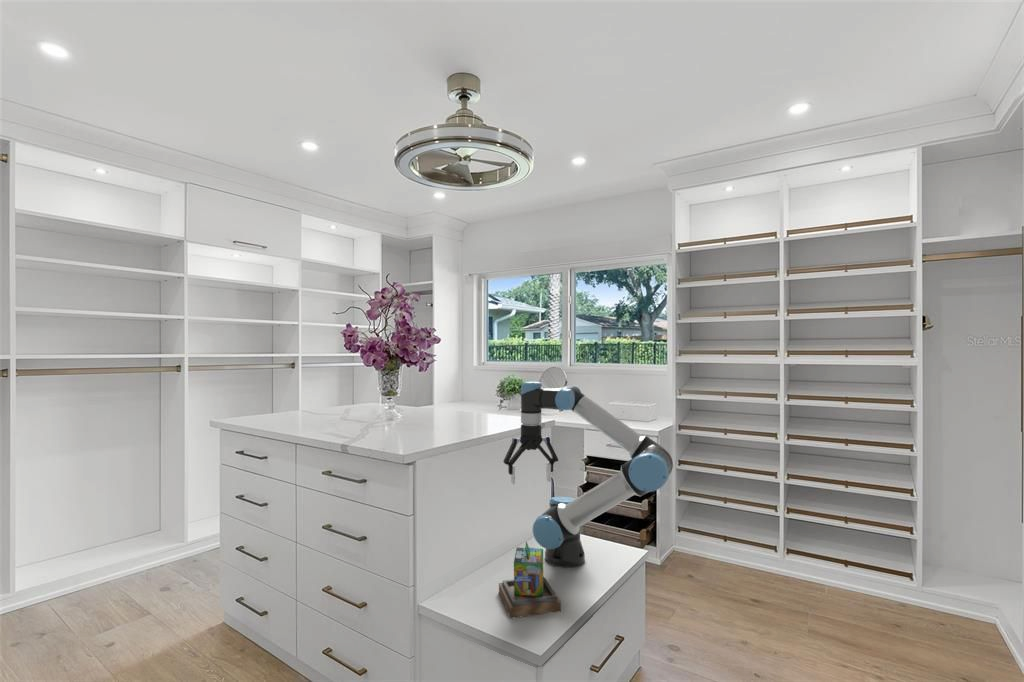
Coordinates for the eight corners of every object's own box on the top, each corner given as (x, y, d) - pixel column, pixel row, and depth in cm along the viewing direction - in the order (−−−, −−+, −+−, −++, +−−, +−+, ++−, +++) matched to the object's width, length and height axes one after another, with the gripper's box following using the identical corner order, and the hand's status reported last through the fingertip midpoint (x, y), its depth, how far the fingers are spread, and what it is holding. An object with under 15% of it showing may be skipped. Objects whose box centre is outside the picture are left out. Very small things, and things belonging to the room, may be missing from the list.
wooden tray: (544, 586, 170) (545, 574, 170) (560, 611, 154) (560, 597, 154) (498, 592, 166) (498, 579, 166) (510, 618, 150) (510, 604, 150)
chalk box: (542, 598, 156) (543, 554, 154) (513, 596, 157) (513, 552, 155) (544, 580, 165) (544, 538, 163) (516, 578, 166) (516, 536, 164)
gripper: (560, 421, 190) (559, 477, 190) (495, 423, 184) (495, 481, 184) (566, 424, 182) (566, 482, 182) (500, 427, 176) (499, 487, 176)
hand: (530, 482), depth 183 cm, fingers open, 13 cm apart
